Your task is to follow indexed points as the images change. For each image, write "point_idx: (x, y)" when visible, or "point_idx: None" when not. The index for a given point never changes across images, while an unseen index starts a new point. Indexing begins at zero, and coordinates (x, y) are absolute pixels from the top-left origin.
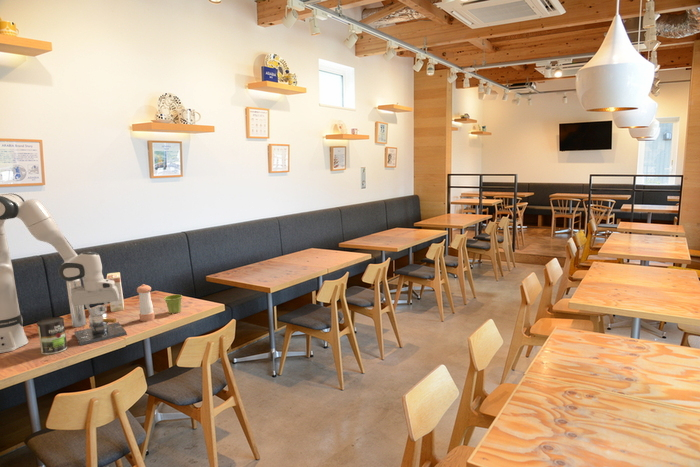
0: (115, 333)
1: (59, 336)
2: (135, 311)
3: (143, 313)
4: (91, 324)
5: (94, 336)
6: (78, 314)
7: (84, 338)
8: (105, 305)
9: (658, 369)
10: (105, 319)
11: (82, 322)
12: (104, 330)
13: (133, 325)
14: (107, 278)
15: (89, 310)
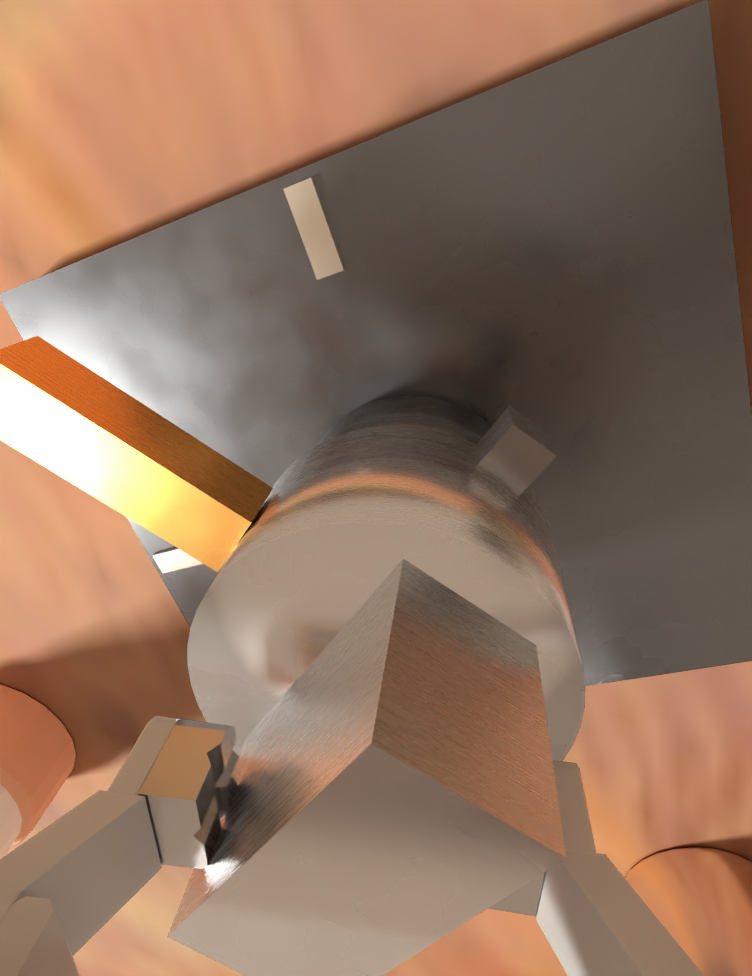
0: (144, 285)
1: None
2: (208, 957)
3: None
4: (510, 475)
5: (460, 279)
6: None
7: (623, 242)
8: (46, 859)
9: None
10: (205, 485)
11: (669, 894)
12: (326, 438)
13: (83, 619)
14: None
15: (564, 827)
